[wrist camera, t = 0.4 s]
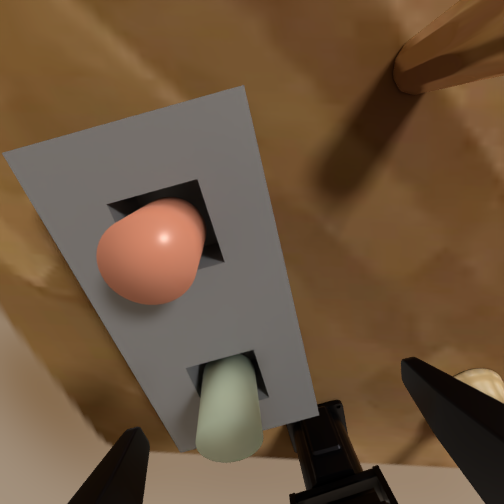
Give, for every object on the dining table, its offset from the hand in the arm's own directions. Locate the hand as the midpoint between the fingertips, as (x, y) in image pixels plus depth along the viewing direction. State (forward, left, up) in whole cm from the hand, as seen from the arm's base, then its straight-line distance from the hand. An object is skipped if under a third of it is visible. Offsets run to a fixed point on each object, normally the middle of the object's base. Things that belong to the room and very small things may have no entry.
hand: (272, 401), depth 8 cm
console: (-1, +4, -13) cm, 13 cm away
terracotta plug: (+5, +4, -9) cm, 11 cm away
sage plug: (-7, +4, -9) cm, 12 cm away
